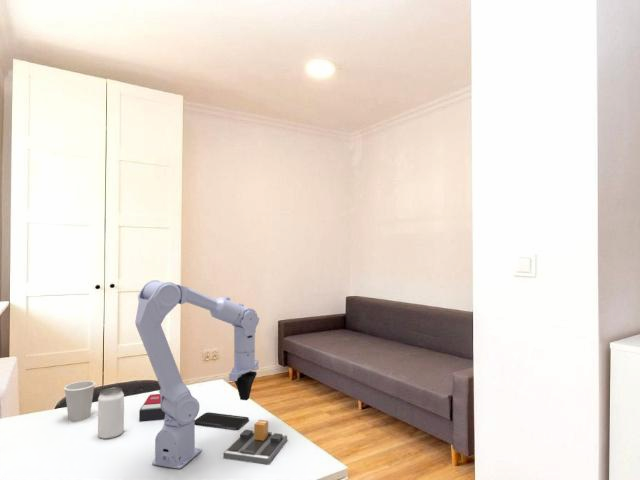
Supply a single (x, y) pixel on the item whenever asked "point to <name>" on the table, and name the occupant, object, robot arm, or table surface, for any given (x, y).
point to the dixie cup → (79, 400)
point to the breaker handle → (261, 430)
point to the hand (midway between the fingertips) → (244, 399)
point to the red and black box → (151, 409)
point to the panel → (255, 447)
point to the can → (110, 413)
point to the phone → (221, 421)
